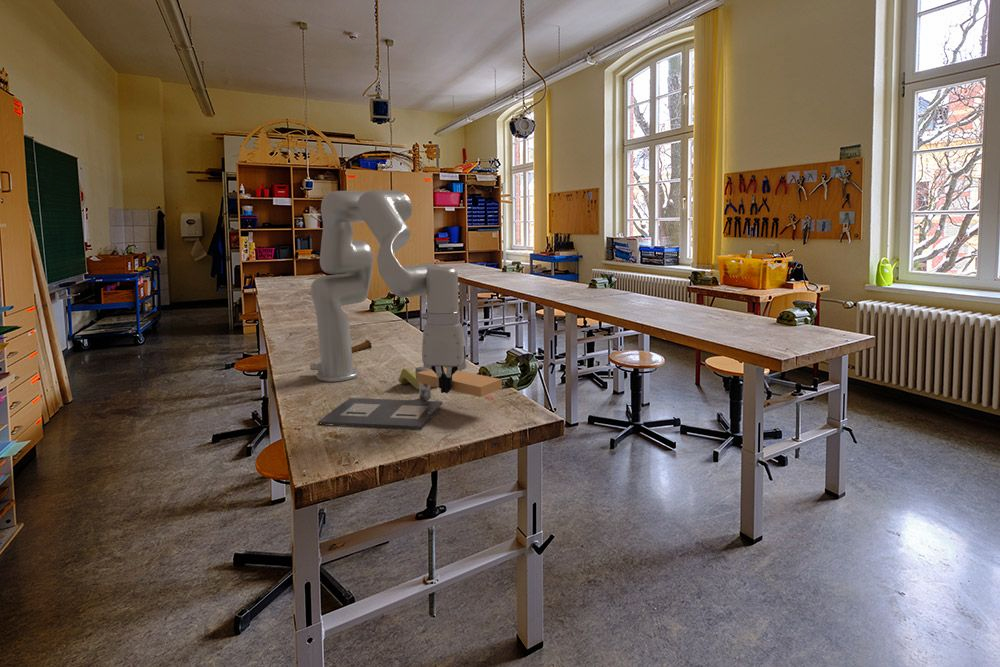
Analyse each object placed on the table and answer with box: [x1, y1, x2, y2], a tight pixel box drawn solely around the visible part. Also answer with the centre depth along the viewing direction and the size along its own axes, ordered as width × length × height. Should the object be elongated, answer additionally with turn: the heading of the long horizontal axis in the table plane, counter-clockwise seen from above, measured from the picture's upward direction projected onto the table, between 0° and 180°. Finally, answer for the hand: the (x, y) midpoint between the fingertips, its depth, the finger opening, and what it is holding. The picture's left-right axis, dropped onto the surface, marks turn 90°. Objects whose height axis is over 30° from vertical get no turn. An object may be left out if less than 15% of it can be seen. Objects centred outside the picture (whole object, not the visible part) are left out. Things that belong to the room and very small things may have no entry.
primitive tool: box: [351, 339, 373, 354], centre depth 209 cm, size 19×6×4 cm, turn 146°
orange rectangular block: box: [414, 366, 503, 398], centre depth 148 cm, size 8×26×2 cm, turn 52°
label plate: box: [317, 383, 443, 430], centre depth 146 cm, size 26×24×6 cm
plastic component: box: [398, 366, 463, 391], centre depth 172 cm, size 20×7×10 cm
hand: (445, 391), depth 142 cm, fingers closed
